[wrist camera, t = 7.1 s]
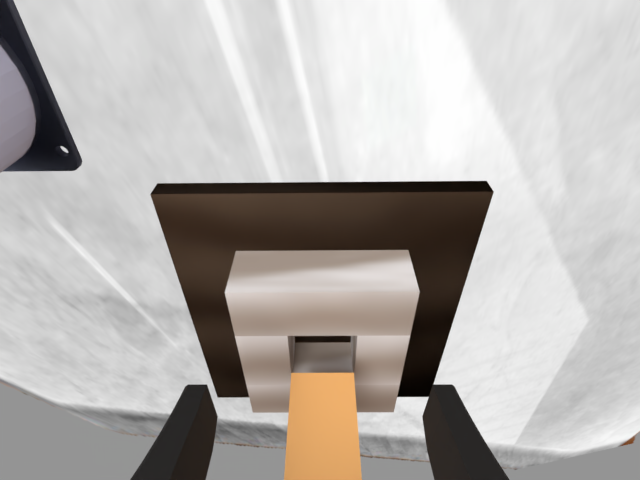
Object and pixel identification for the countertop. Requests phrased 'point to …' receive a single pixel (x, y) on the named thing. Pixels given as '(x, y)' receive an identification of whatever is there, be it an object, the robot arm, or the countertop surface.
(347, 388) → the plug
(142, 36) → the countertop surface
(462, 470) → the robot arm
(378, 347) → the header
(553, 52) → the countertop surface
